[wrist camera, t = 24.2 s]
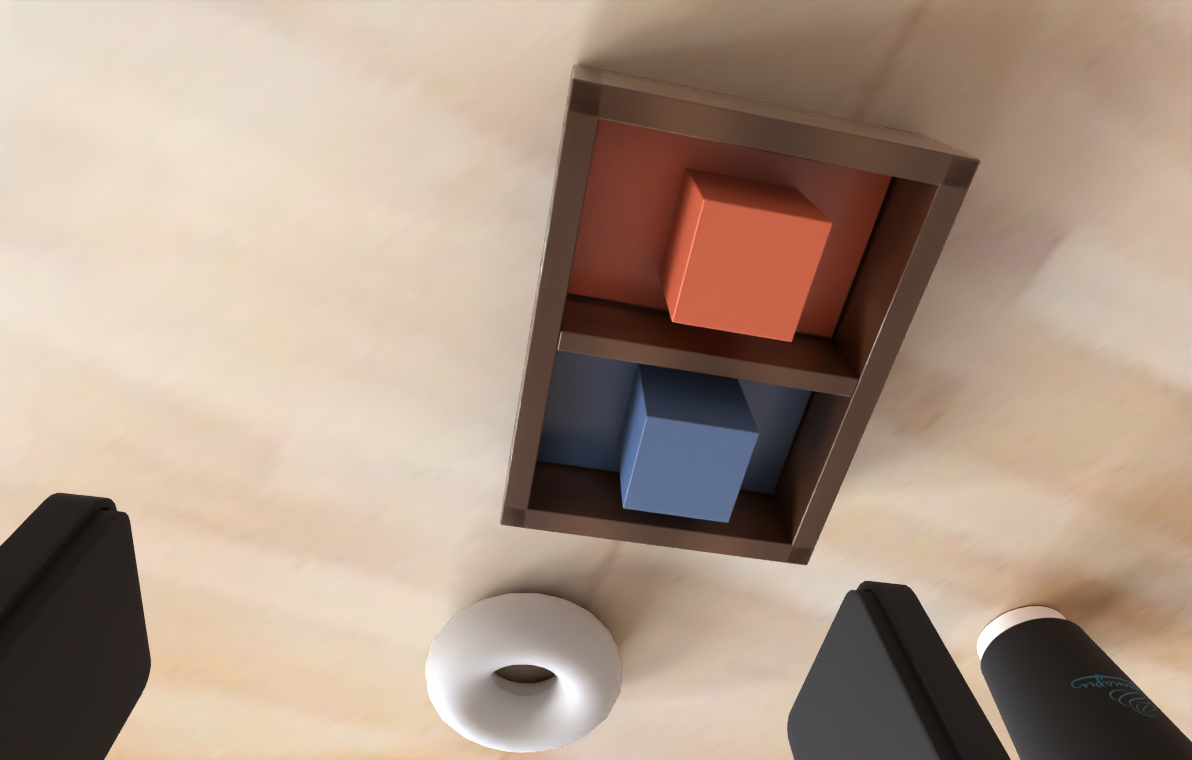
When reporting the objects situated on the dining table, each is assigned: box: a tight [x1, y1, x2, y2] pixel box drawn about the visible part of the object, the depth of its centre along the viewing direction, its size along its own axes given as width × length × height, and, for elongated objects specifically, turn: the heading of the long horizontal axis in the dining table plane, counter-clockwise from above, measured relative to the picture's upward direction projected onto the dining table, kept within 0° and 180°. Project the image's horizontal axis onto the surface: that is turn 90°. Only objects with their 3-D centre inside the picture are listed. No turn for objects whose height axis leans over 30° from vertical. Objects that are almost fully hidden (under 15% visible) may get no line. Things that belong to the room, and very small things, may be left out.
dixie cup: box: [977, 606, 1192, 760], centre depth 34 cm, size 8×8×11 cm
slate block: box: [618, 363, 759, 522], centre depth 29 cm, size 4×4×4 cm
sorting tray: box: [500, 65, 980, 565], centre depth 28 cm, size 13×17×4 cm
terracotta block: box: [660, 168, 833, 342], centre depth 25 cm, size 4×4×4 cm
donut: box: [425, 593, 622, 752], centre depth 37 cm, size 10×3×10 cm
